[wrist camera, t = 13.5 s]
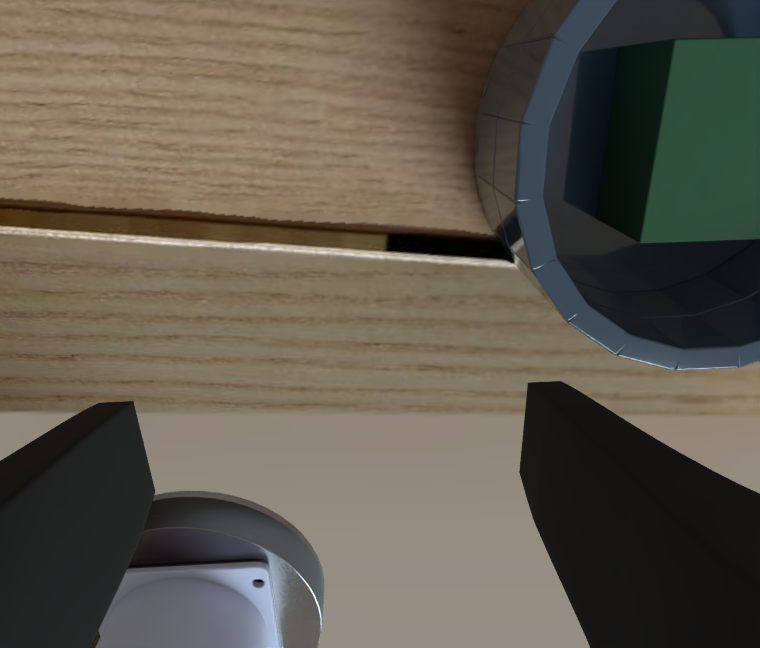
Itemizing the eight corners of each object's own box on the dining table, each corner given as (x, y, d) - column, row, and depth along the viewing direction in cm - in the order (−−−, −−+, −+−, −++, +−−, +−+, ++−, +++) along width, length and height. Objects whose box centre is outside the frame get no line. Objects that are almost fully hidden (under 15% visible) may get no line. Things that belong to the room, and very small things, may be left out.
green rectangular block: (700, 215, 18) (764, 239, 15) (594, 218, 18) (639, 243, 15) (737, 43, 16) (818, 35, 13) (618, 46, 16) (674, 38, 13)
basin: (778, 296, 20) (906, 361, 15) (466, 310, 19) (501, 380, 15) (888, -86, 15) (1119, -159, 11) (482, -78, 15) (539, -149, 10)
